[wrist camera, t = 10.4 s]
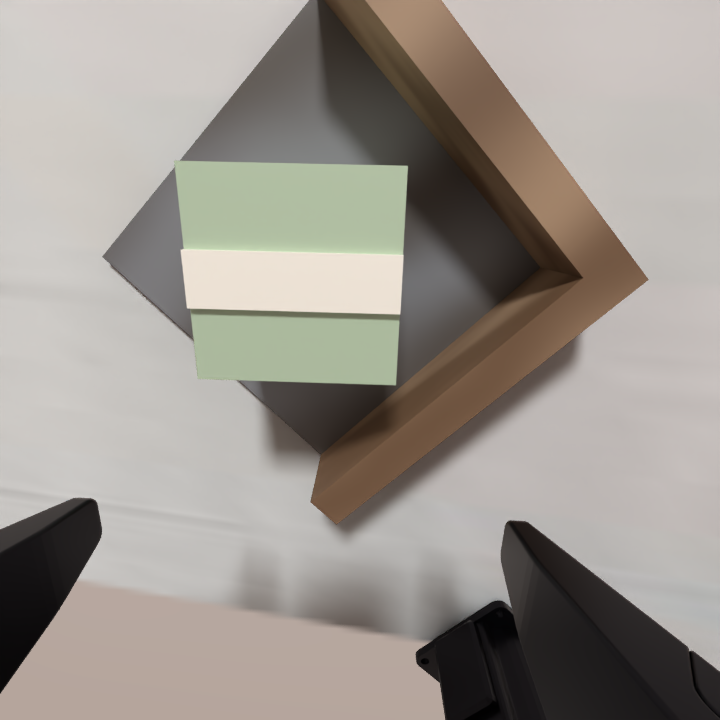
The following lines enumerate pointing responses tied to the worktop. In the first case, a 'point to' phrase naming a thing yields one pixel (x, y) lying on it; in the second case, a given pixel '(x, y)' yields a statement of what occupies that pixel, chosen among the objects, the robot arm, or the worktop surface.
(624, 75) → the worktop surface
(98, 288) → the worktop surface
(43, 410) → the worktop surface
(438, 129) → the corner arena
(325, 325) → the cube
